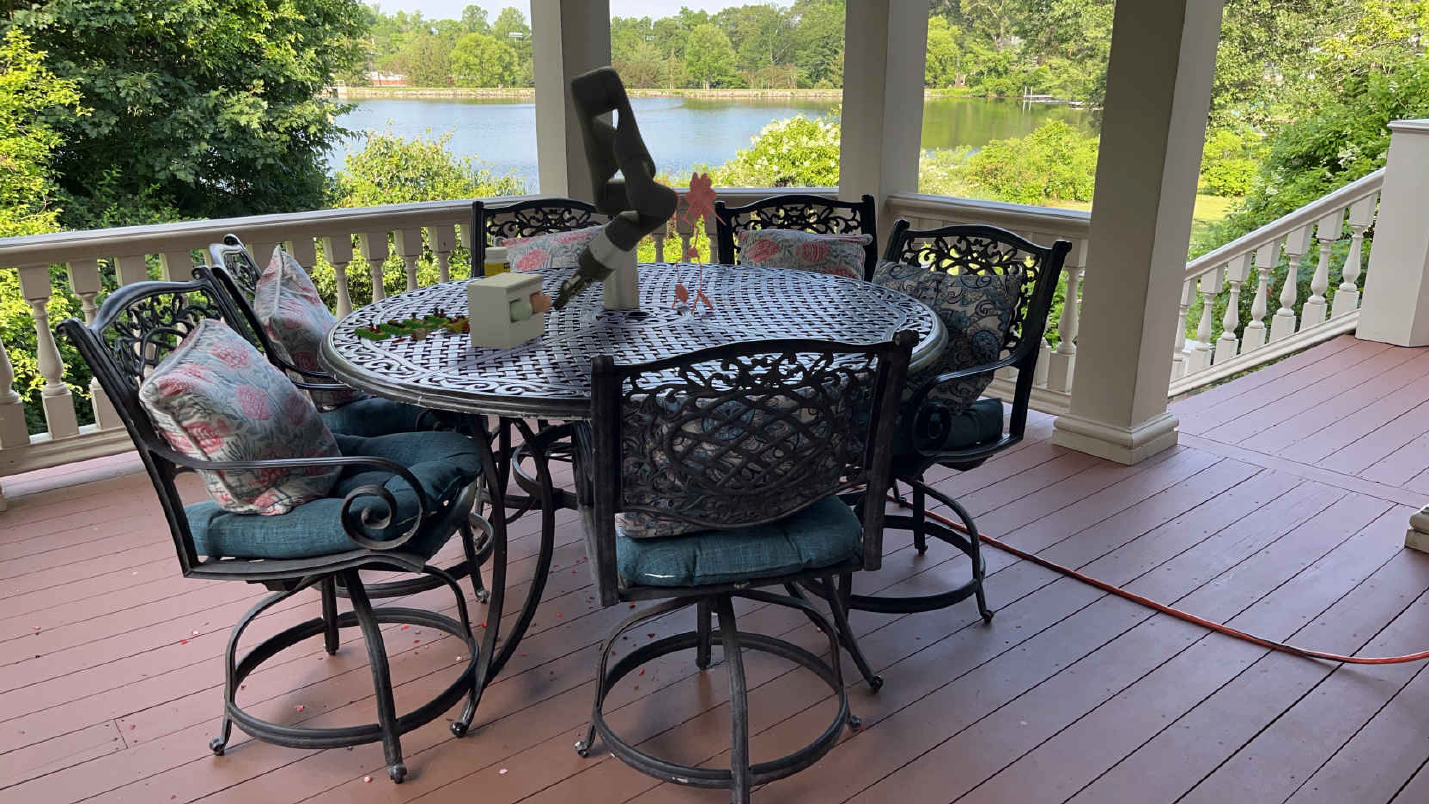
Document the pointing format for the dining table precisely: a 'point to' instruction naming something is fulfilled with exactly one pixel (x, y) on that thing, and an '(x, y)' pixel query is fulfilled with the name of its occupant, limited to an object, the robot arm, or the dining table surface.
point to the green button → (520, 311)
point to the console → (503, 310)
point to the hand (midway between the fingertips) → (555, 307)
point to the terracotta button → (540, 303)
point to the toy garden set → (415, 326)
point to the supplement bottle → (496, 261)
